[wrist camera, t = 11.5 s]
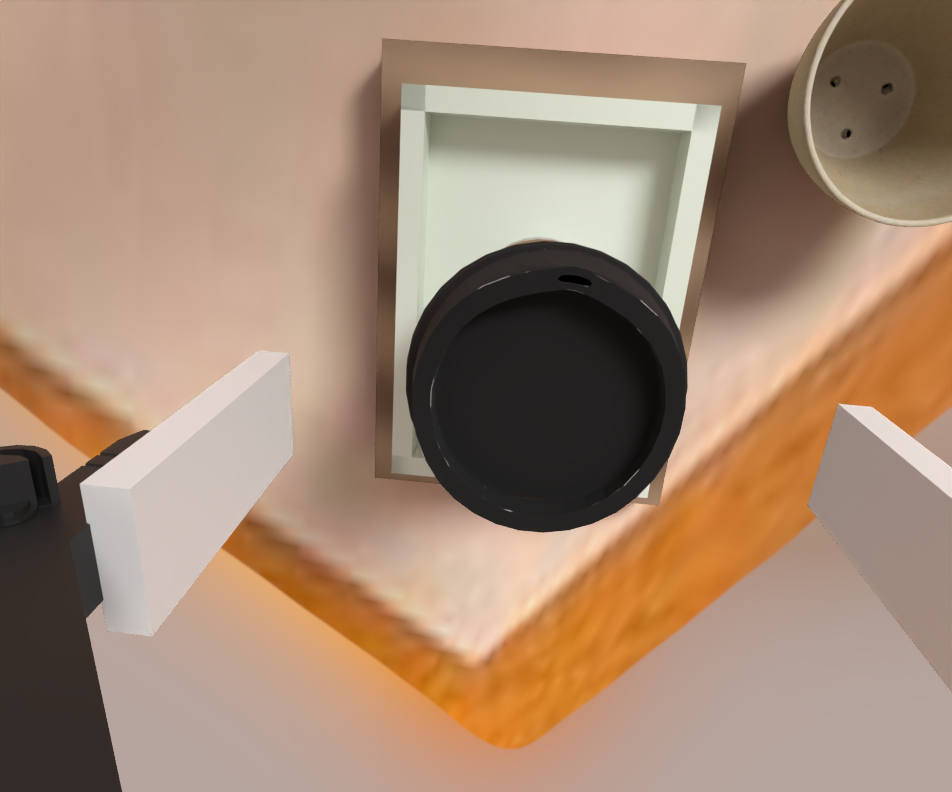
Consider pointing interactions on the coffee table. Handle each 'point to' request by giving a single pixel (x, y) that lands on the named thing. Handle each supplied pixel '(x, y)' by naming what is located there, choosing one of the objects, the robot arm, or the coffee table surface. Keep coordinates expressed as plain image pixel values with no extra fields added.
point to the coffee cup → (546, 385)
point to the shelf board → (538, 76)
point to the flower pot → (879, 110)
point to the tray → (540, 195)
